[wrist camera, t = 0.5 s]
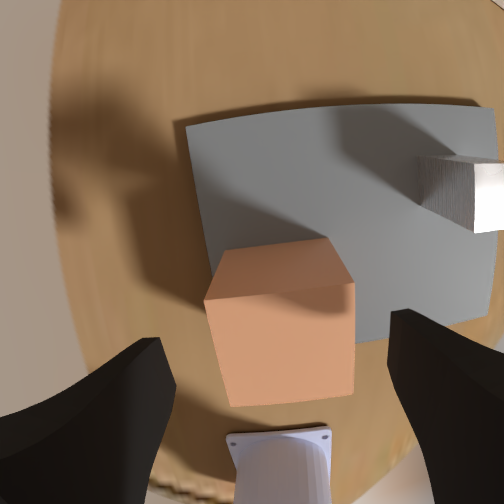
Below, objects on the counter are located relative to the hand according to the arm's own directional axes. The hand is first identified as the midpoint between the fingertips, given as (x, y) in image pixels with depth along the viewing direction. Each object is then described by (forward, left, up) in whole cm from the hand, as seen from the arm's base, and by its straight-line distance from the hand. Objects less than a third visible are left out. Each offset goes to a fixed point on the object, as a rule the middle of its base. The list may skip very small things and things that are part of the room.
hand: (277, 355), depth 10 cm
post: (+4, -9, -9) cm, 13 cm away
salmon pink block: (-1, 0, -8) cm, 8 cm away
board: (+1, -5, -9) cm, 10 cm away
